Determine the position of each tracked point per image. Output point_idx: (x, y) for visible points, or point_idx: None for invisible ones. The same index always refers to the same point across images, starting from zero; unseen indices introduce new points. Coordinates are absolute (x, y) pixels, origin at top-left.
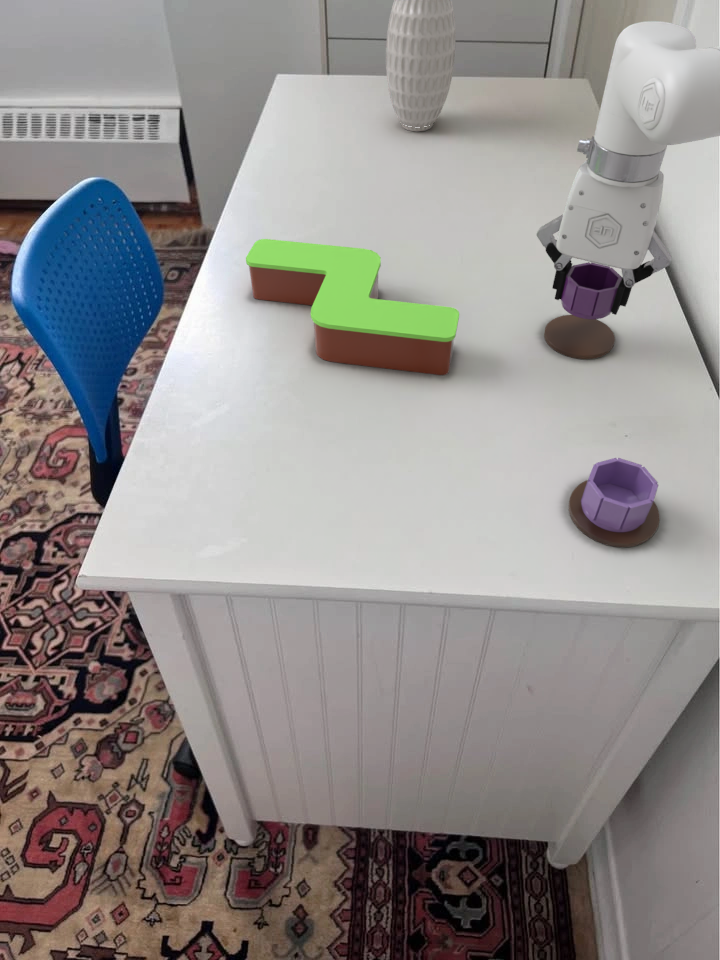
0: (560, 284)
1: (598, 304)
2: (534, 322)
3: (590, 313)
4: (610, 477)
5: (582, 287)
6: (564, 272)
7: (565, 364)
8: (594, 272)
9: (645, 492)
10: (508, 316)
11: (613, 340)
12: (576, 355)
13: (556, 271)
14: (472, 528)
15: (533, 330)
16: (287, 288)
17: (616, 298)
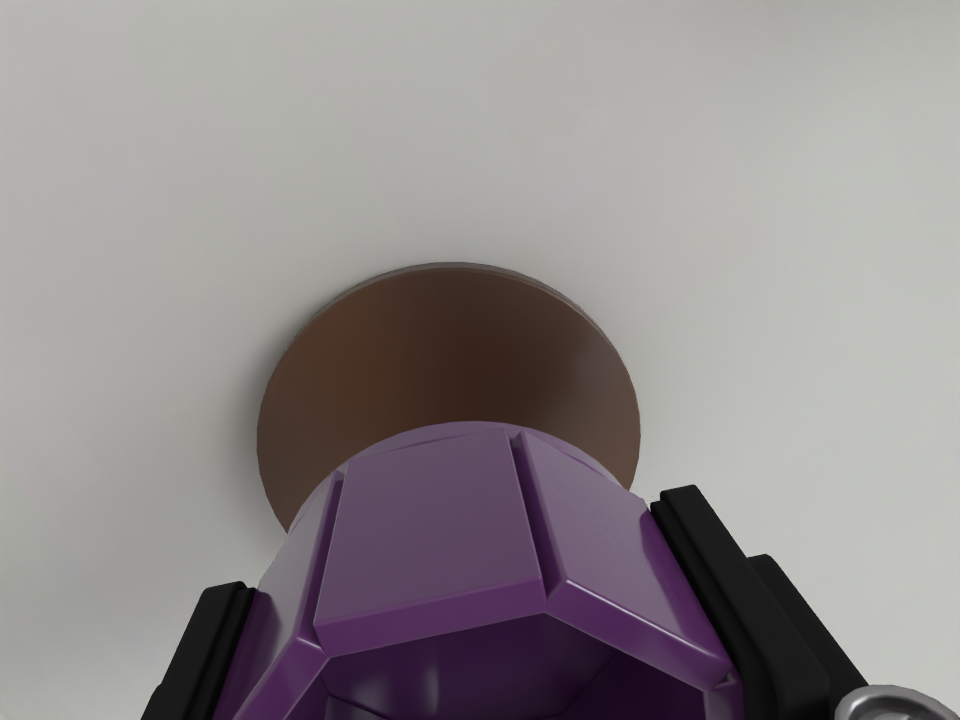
0: (732, 577)
1: (303, 551)
2: (707, 422)
3: (355, 470)
4: None
5: (497, 605)
6: (786, 696)
7: (393, 191)
8: None
9: None
10: (848, 385)
11: (281, 514)
12: (373, 283)
13: (859, 681)
14: None
15: (684, 359)
16: None
17: (190, 690)
